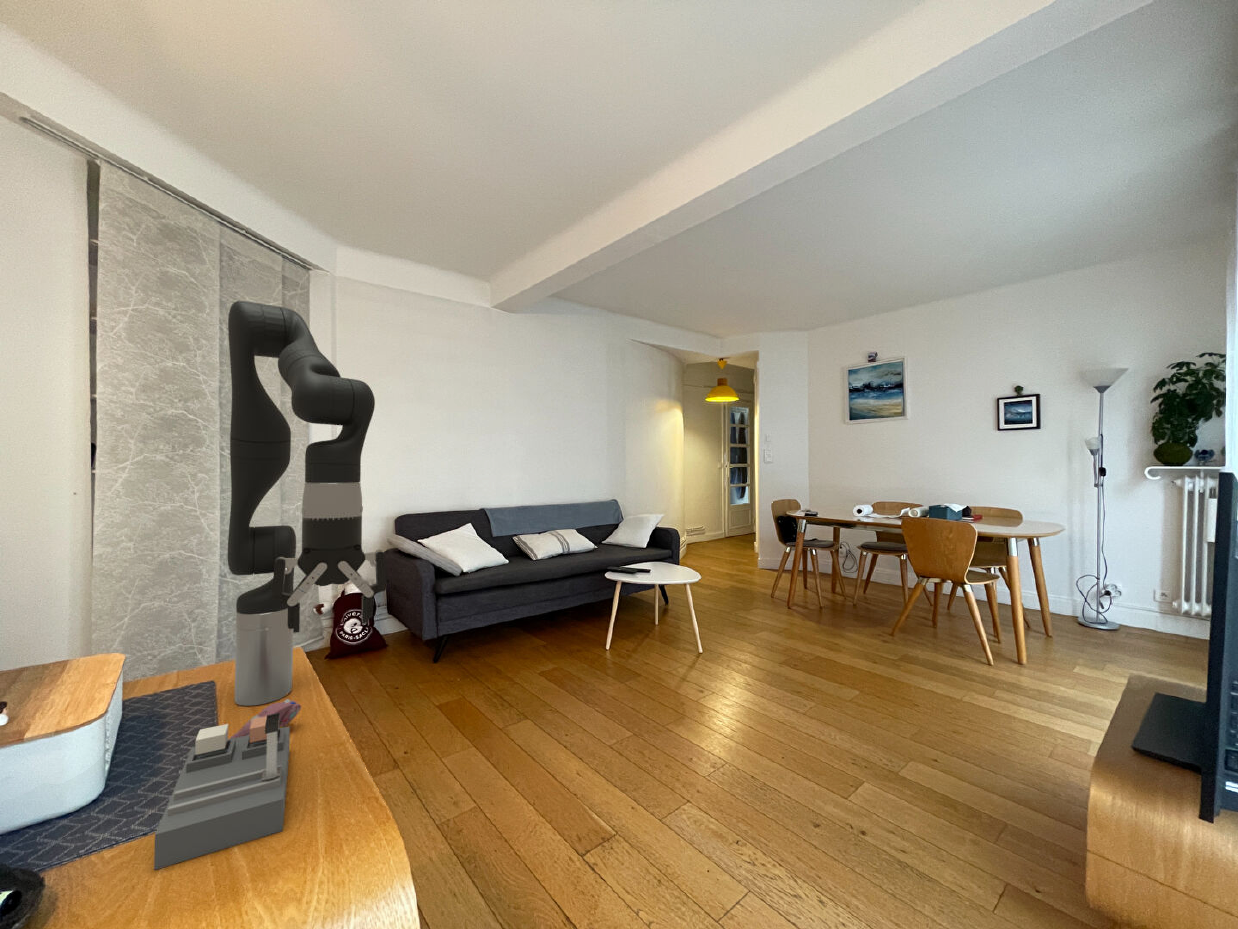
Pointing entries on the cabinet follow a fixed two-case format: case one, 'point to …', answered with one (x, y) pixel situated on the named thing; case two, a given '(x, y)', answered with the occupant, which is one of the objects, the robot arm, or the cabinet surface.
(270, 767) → the slide paddle
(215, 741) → the cream button
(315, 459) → the robot arm
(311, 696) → the cabinet surface
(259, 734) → the terracotta button
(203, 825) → the control panel
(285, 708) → the video game controller
